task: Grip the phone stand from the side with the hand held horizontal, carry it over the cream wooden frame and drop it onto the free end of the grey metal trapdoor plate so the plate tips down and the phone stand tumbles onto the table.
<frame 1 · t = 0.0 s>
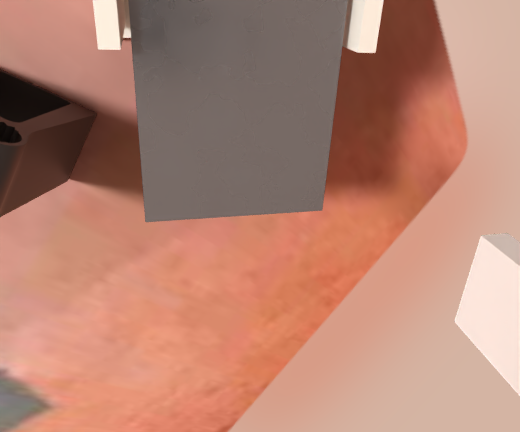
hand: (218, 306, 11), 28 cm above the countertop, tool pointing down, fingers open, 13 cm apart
trapdoor: (240, 30, 24), point 11 cm above the countertop, hinge at 0.0°
phone stand: (21, 120, 34), on the countertop
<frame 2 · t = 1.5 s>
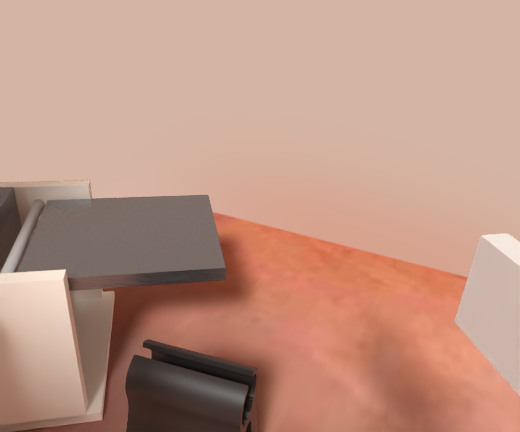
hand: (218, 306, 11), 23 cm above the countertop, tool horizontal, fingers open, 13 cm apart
frame: (46, 355, 38), on the countertop
trapdoor: (70, 239, 34), point 11 cm above the countertop, hinge at 0.0°
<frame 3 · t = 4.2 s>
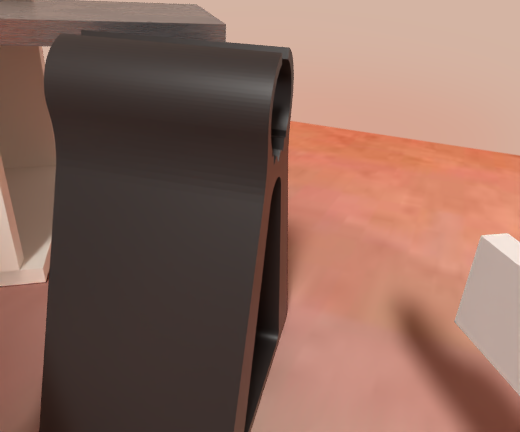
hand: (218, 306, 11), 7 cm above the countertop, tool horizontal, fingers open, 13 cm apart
phone stand: (186, 379, 18), on the countertop
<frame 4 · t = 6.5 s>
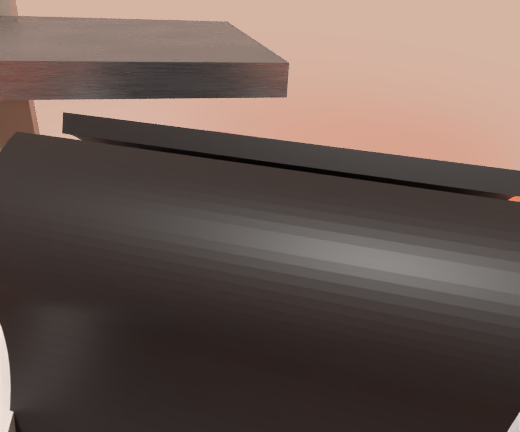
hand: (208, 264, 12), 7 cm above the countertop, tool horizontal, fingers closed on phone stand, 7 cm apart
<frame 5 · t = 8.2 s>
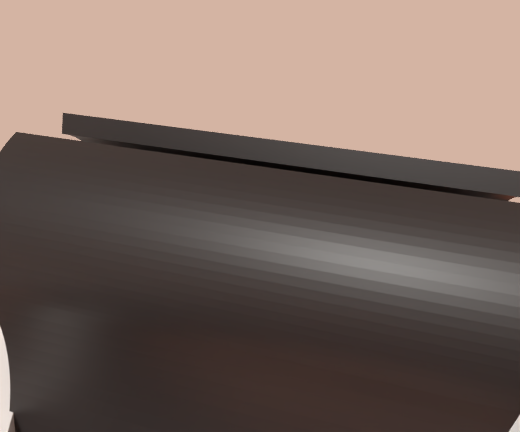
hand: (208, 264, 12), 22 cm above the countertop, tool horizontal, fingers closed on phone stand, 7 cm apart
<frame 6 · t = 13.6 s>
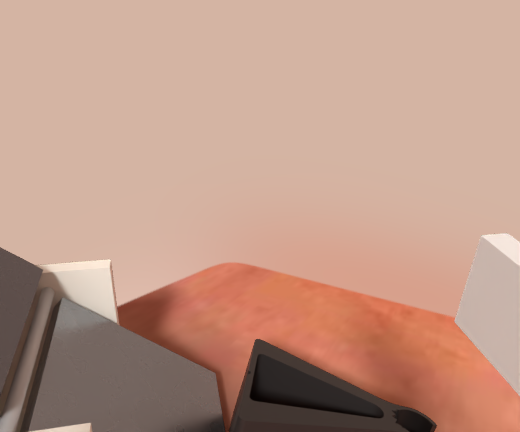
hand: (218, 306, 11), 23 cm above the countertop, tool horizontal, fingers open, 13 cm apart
trapdoor: (81, 381, 27), point 9 cm above the countertop, hinge at -40.8°, touching phone stand
phone stand: (232, 411, 29), point 6 cm above the countertop, touching trapdoor
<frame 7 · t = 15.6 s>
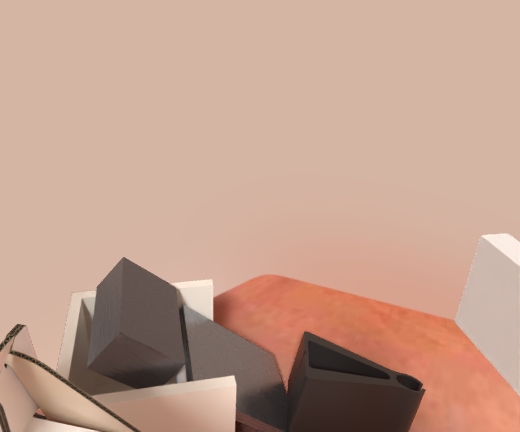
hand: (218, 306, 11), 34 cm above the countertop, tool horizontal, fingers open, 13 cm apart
frame: (181, 425, 47), on the countertop
trapdoor: (205, 356, 43), point 9 cm above the countertop, hinge at -40.9°, touching phone stand
phone stand: (294, 377, 46), point 5 cm above the countertop, touching trapdoor
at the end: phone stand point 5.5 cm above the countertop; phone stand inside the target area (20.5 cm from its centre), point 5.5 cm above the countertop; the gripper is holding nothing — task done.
